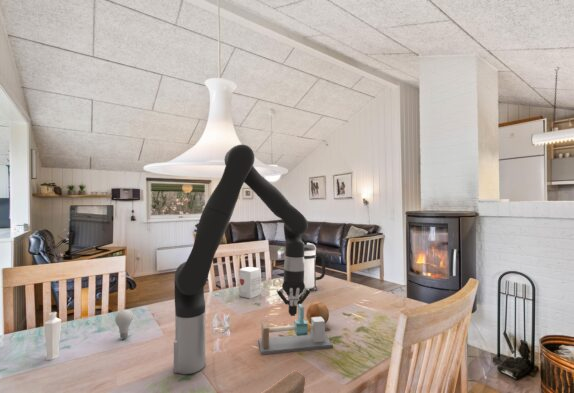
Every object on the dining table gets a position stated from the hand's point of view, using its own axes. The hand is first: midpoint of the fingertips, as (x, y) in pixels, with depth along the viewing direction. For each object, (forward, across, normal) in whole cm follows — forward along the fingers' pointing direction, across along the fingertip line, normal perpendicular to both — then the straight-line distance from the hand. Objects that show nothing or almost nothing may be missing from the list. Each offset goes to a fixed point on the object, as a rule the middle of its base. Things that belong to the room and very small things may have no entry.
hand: (292, 315), depth 110 cm
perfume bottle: (+14, -82, +7) cm, 83 cm away
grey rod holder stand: (+11, +1, 0) cm, 11 cm away
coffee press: (+10, +23, +66) cm, 71 cm away
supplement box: (+12, -12, +60) cm, 62 cm away
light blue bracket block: (+7, +3, 0) cm, 8 cm away
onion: (+10, +14, +14) cm, 22 cm away
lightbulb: (+14, -63, +17) cm, 66 cm away
